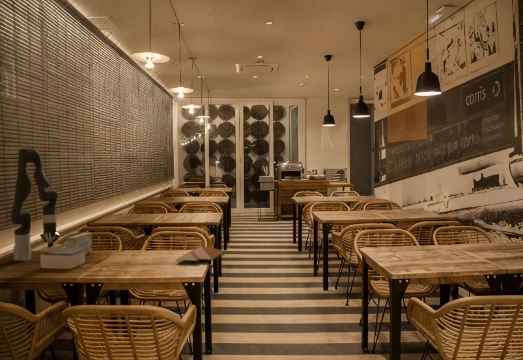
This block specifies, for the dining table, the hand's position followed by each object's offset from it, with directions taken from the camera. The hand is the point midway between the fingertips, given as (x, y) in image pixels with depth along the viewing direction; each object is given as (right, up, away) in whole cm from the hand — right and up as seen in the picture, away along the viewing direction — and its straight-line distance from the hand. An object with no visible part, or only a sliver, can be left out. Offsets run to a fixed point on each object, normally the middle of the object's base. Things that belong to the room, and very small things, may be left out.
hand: (50, 248), depth 292 cm
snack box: (+9, -9, +23) cm, 27 cm away
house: (+94, -9, +10) cm, 95 cm away
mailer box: (+8, -10, -1) cm, 13 cm away
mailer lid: (+10, -2, -1) cm, 10 cm away
